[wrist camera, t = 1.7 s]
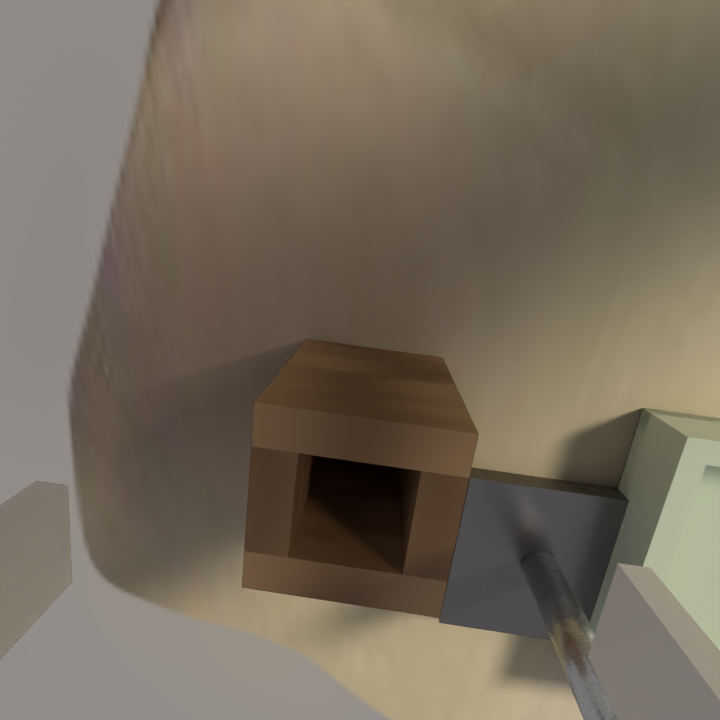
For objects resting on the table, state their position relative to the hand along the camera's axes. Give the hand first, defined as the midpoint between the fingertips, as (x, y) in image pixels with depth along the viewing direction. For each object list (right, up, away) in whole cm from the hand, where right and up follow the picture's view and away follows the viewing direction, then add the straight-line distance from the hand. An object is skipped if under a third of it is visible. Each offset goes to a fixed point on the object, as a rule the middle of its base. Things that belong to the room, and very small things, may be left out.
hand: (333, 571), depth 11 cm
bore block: (+1, +3, +10) cm, 10 cm away
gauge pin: (+9, -4, +11) cm, 15 cm away
